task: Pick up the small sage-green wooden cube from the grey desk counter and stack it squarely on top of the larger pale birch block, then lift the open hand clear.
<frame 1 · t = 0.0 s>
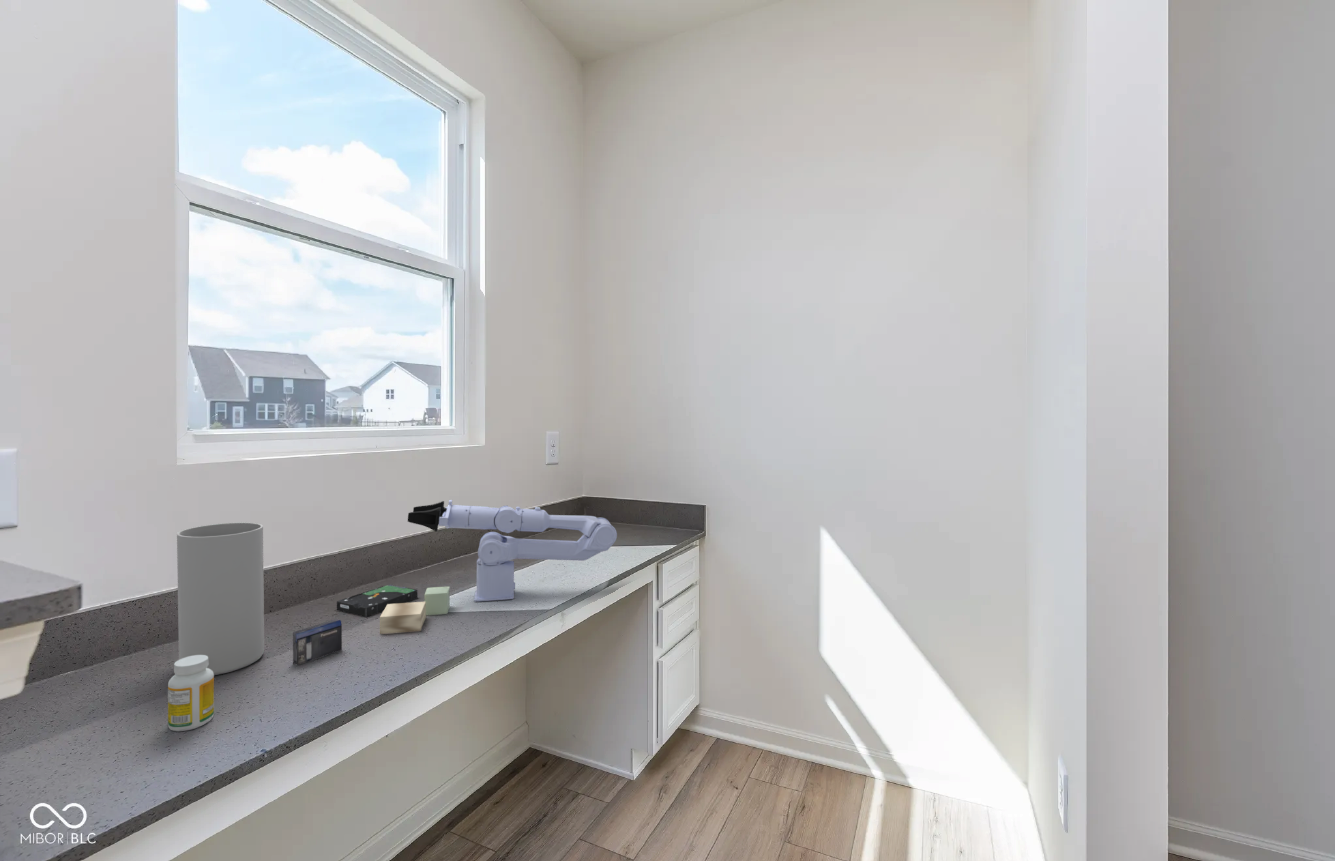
hand: (410, 514, 140), 22 cm above the table, tool horizontal, fingers open, 7 cm apart
mini dv tape: (318, 657, 110), on the table
supplement bottle: (191, 723, 87), on the table
disk drive: (378, 606, 139), on the table
birch block: (403, 626, 126), on the table
cylinder vase: (223, 663, 106), on the table
sage block: (437, 611, 135), on the table
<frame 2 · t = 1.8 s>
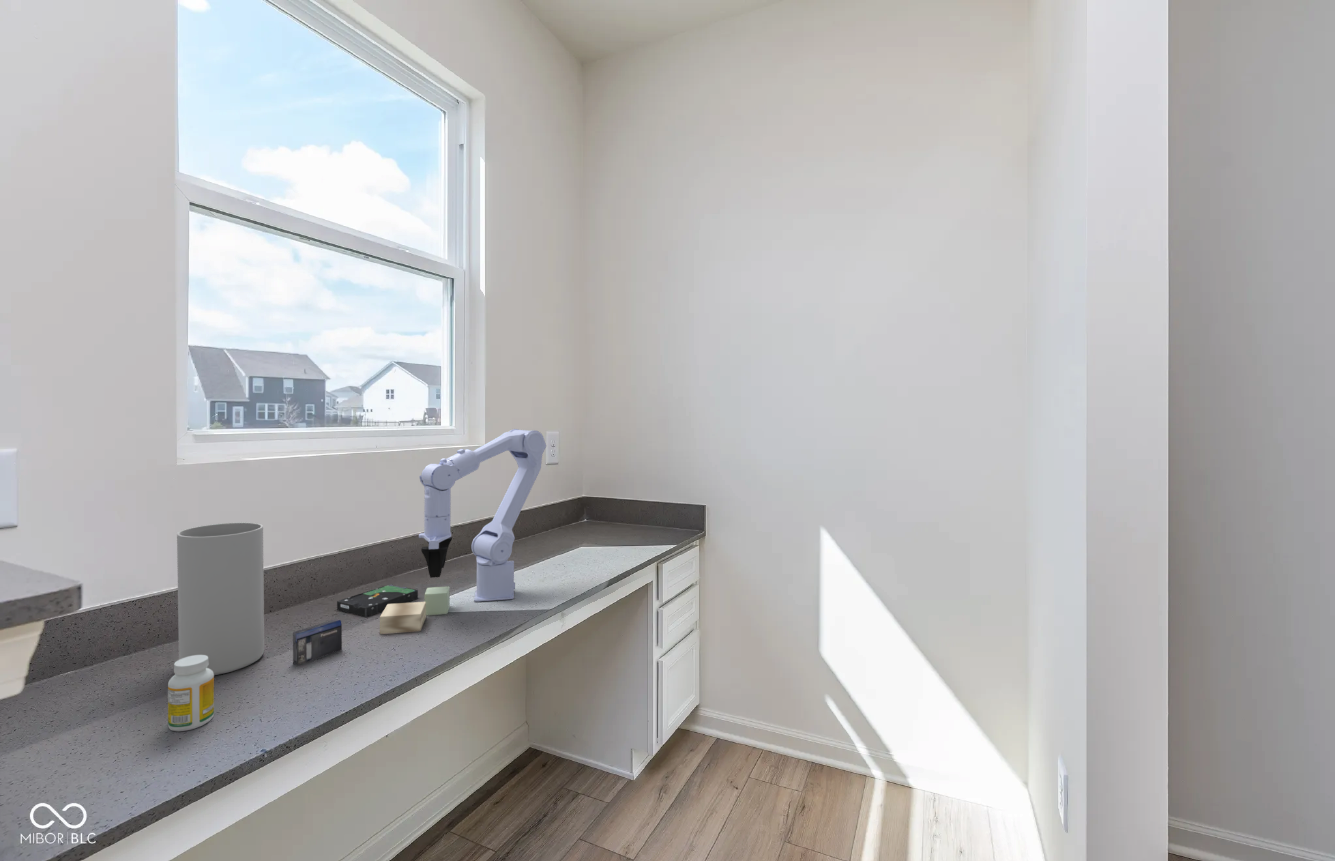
hand: (437, 572, 135), 9 cm above the table, tool pointing down, fingers open, 7 cm apart
nothing on the table moved.
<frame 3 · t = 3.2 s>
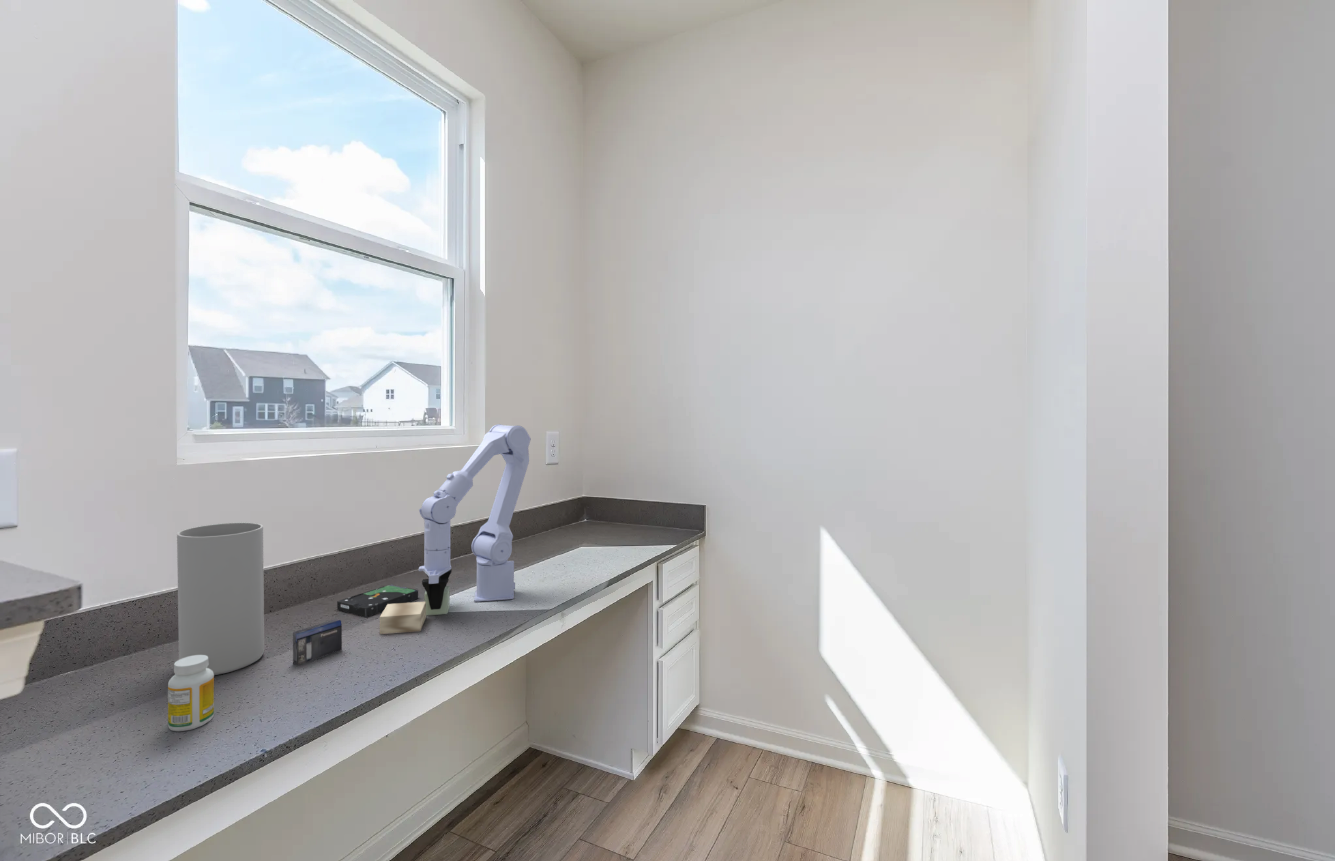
hand: (437, 604, 135), 1 cm above the table, tool pointing down, fingers closed on sage block, 5 cm apart
sage block: (437, 610, 135), on the table, touching gripper
everything else where it was.
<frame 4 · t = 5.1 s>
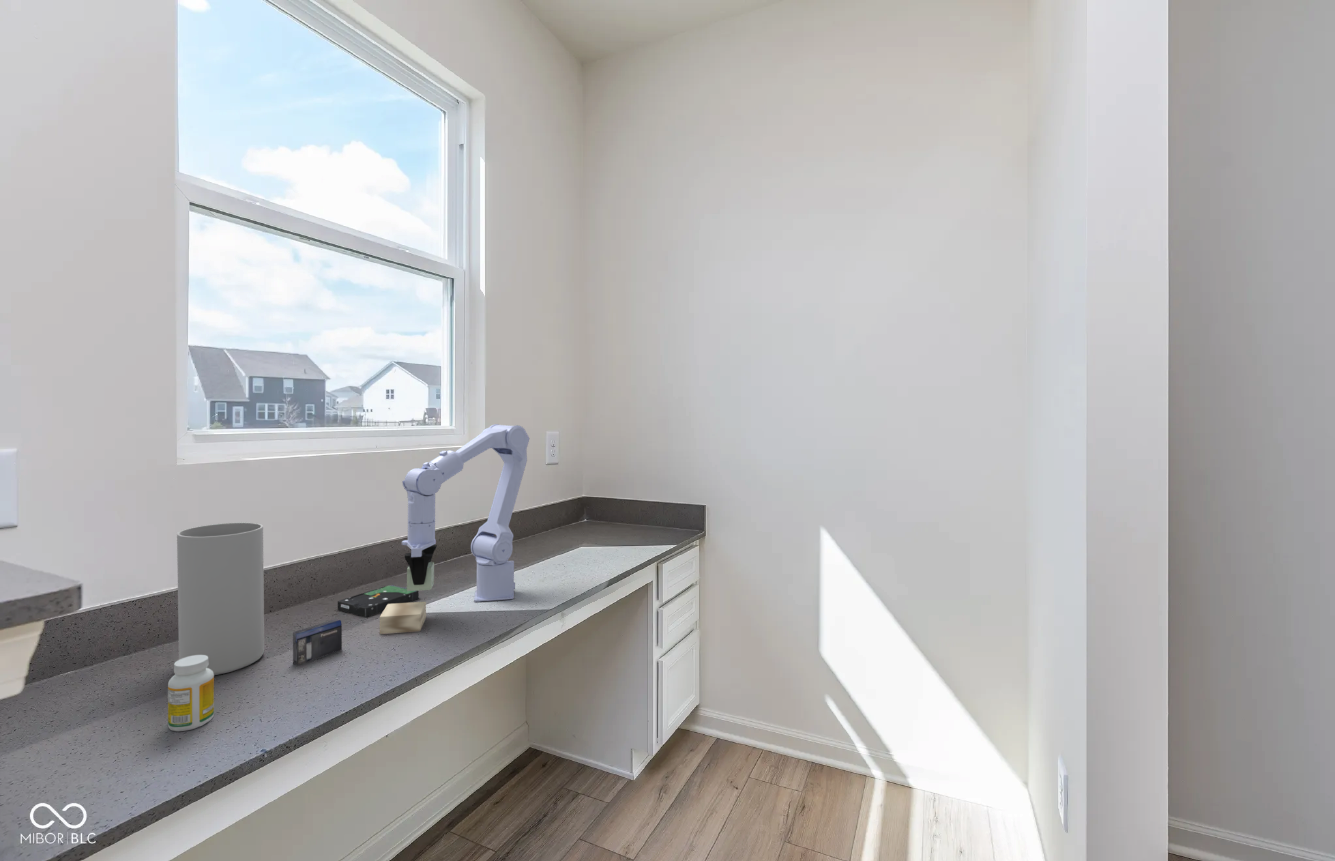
hand: (420, 580, 130), 9 cm above the table, tool pointing down, fingers closed on sage block, 5 cm apart
sage block: (420, 587, 130), point 7 cm above the table, touching gripper
everything else where it was.
when the fingers open (6 cm above the table, at t = 6.7 s): sage block drops 1 cm, resting on birch block.
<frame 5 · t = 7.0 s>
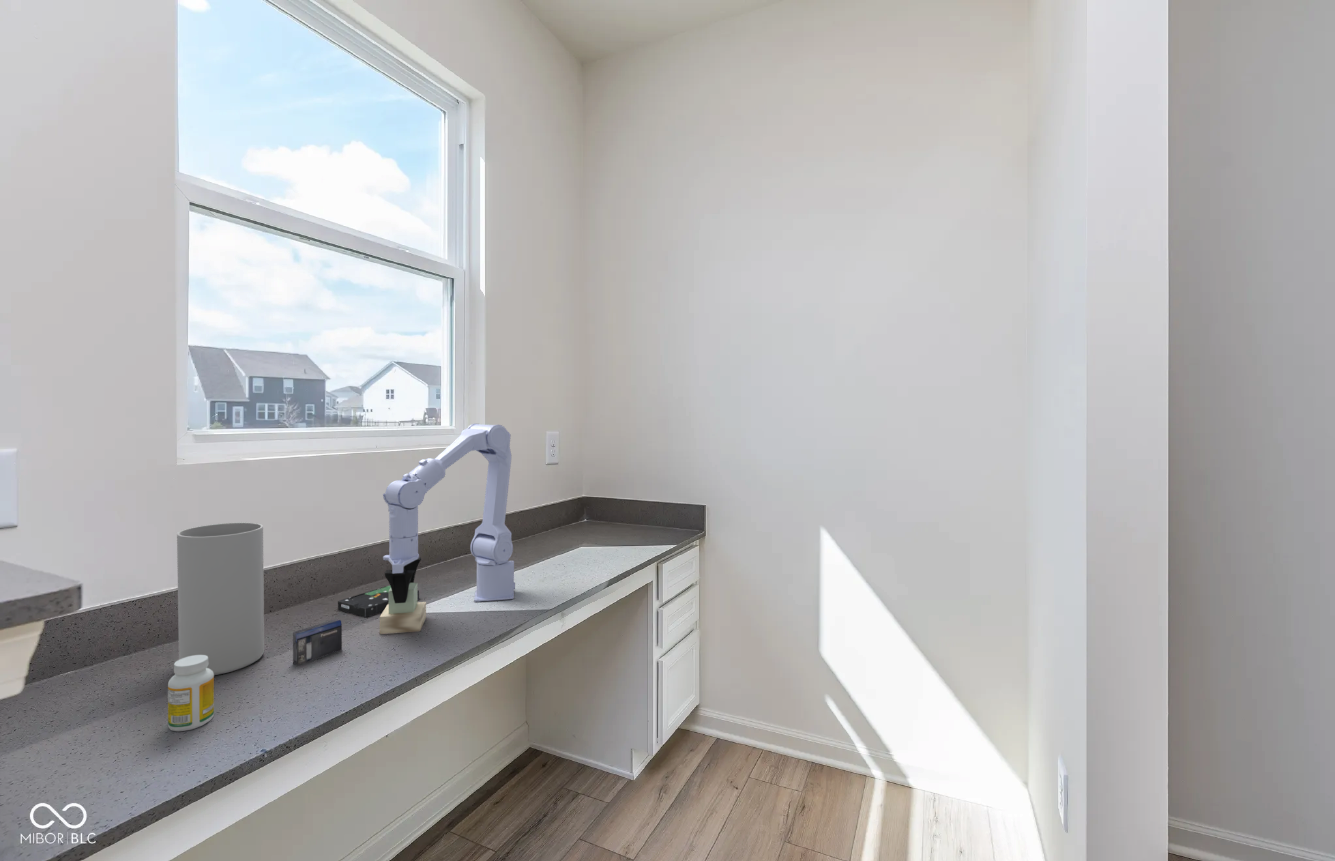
hand: (403, 596, 125), 6 cm above the table, tool pointing down, fingers open, 7 cm apart
birch block: (403, 626, 126), on the table, touching sage block
sage block: (403, 609, 126), point 4 cm above the table, touching birch block
everything else where it was.
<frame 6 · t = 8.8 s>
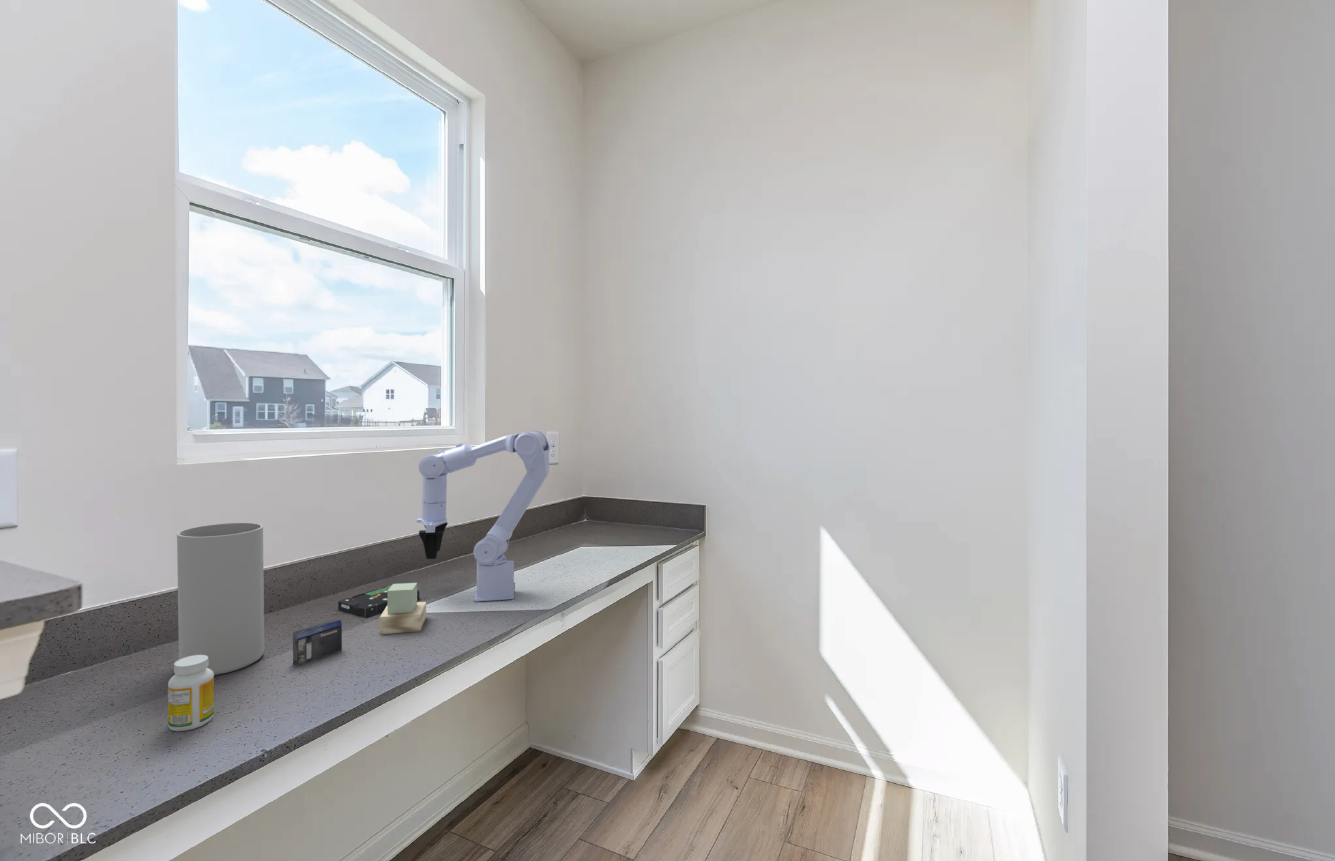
hand: (433, 554, 146), 10 cm above the table, tool pointing down, fingers open, 7 cm apart
birch block: (403, 626, 126), on the table
sage block: (402, 609, 125), point 4 cm above the table
everything else where it was.
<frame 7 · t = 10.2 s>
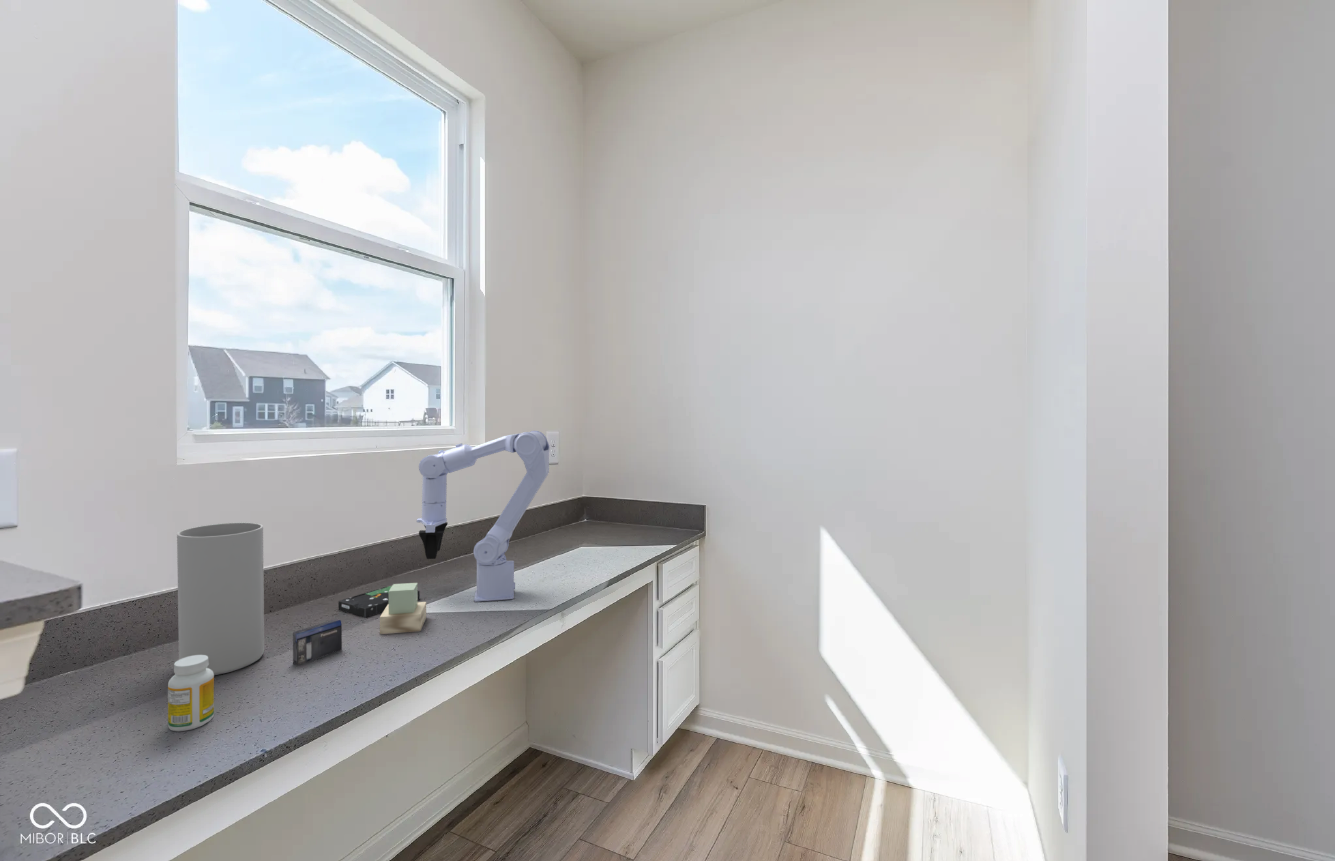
hand: (433, 554, 146), 10 cm above the table, tool pointing down, fingers open, 7 cm apart
nothing on the table moved.
at the end: sage block 0.2 cm off-centre on the birch block, point 4.0 cm above the birch block's base; sage block tilted 0°; the gripper is holding nothing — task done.
